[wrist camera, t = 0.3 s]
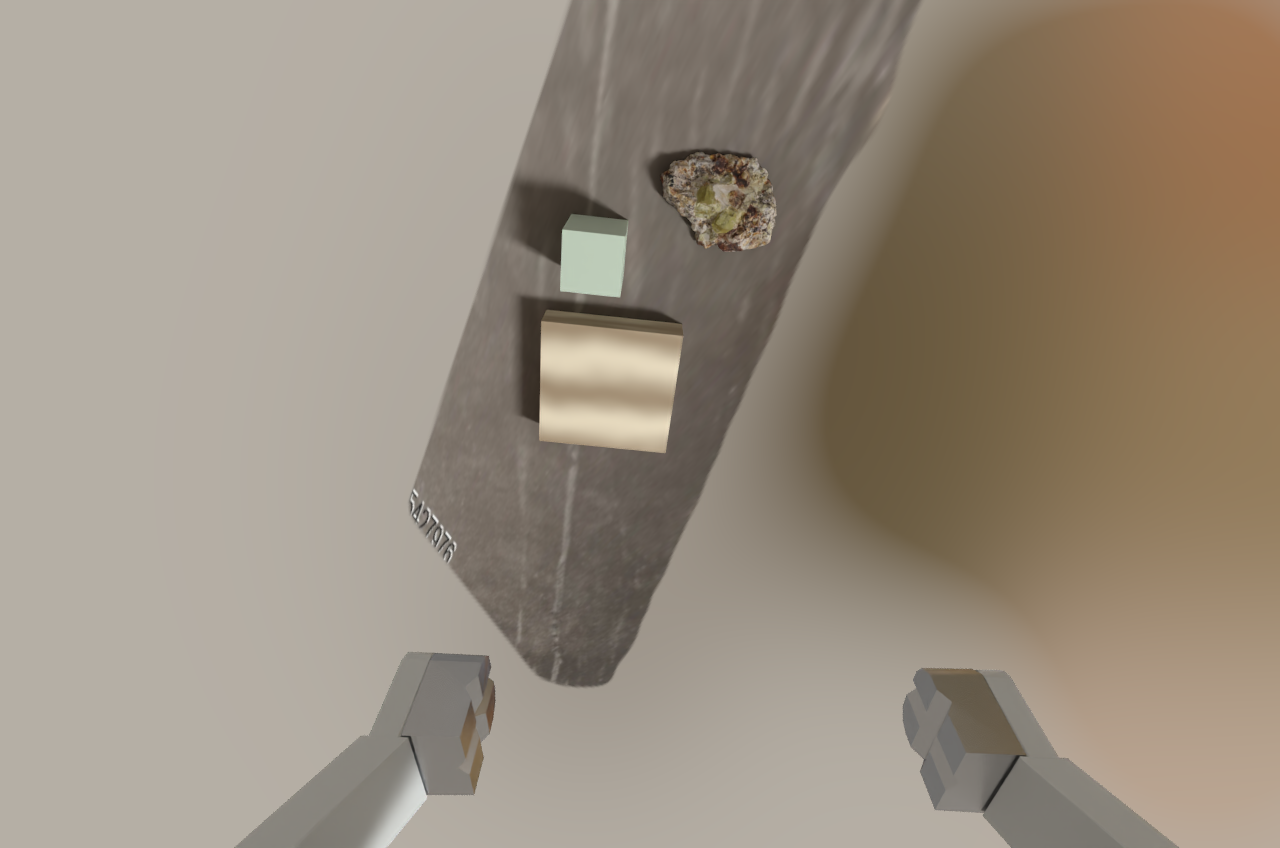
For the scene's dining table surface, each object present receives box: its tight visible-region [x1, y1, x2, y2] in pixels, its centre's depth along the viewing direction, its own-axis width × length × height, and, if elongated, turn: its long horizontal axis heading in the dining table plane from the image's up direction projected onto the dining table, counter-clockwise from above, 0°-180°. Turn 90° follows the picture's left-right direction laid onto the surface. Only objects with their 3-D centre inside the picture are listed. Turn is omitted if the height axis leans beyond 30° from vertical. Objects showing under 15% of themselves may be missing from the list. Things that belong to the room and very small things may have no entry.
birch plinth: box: [539, 310, 683, 453], centre depth 58 cm, size 13×13×3 cm
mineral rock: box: [660, 151, 777, 252], centre depth 49 cm, size 11×4×8 cm
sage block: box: [560, 214, 628, 297], centre depth 50 cm, size 5×5×6 cm
